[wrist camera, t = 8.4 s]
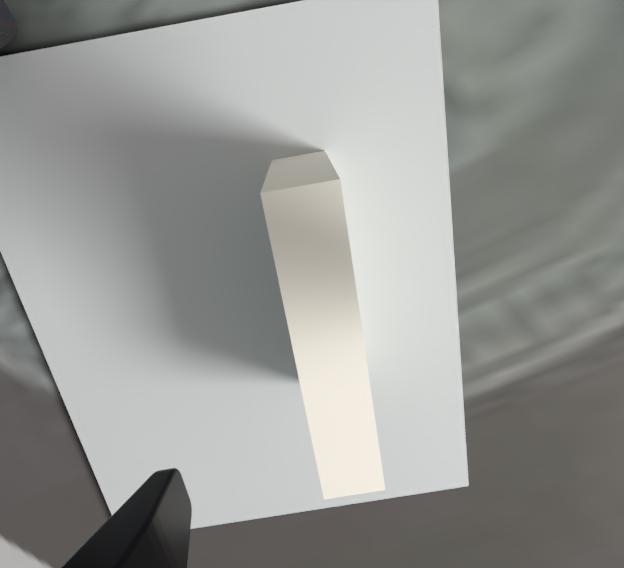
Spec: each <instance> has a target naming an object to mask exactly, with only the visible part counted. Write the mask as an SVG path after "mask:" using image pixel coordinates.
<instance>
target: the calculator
mask: <svg viewBox="0 0 624 568" xmlns="http://www.w3.org/2000/svg"><path fill="white" fill-rule="evenodd" d="M16 33H17V25H16V22H15V20H14V18H13V16H12V14H11V13H10V11H9V9H8V8H7V6H6V5H5V3H4V1H3V0H0V48H2V47H4V46H5V45H7V44H8V43H9V42H11V41H12V40H13V39H14V38H15V36H16Z"/></svg>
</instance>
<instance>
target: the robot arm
mask: <svg viewBox="0 0 624 568" xmlns="http://www.w3.org/2000/svg"><path fill="white" fill-rule="evenodd" d="M191 517H192V507H191V501H190V498H189V495H188V492H187V489H186V487H185V484H184V481H183V478H182V475H181V473H180V471H179V470H178V469H176V468H171V469H165V470H159V471H156V472H154V473H153V474H152V475H151V476H150V477H149V478H148V479H147V480H146V481H145V482H144V483H143V484H142V485H141V486H140V487H139V488H138V489H137V490H136V492H135V493H134V494H133V495H132V496H131V497H130V498H129V499H128V500H127V501H126V502H125V503H124V504H123V505H122V506H121V507H120V508H119V509H118V510H117V511H116V512H115V513H114V514H113V515H112V516H111V517H110V518H109V519H108V520H107V521H106V522H105V524H104V525H103V526H102V527H101V528H100V529H99V530H98V531H97V532H96V533H95V534H94V535H93V536H92V537H91V538H90V539H89V540H88V541H87V542H86V543H85V544H84V545H83V546H82V547H81V548H80V549H79V550H78V551H77V552H76V553H75V554H74V556H73V557H72V558H71V559H70V560H69V561H68V562H67V563H66V564H65V565H64V566H63V567H62V568H187V559H188V548H189V538H190V527H191Z"/></svg>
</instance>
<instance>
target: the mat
mask: <svg viewBox="0 0 624 568" xmlns="http://www.w3.org/2000/svg"><path fill="white" fill-rule="evenodd" d="M319 151H325V152H326V154H327V156H328V158H329V159H330V161H331V163H332V165H333V167H334V169H335V170H336V172H337V174H338V176H339V178H340V181H341V188H342V195H343V201H344V208H345V215H346V222H347V229H348V236H349V243H350V249H351V256H352V263H353V270H354V277H355V284H356V291H357V298H358V304H359V311H360V318H361V325H362V332H363V339H364V346H365V352H366V359H367V366H368V373H369V380H370V387H371V394H372V400H373V407H374V414H375V421H376V428H377V435H378V442H379V448H380V455H381V462H382V469H383V476H384V483H385V490H383V491H376V492H370V493H363V494H357V495H350V496H344V497H338V498H331V499H325V500H324V497H323V493H322V488H321V483H320V478H319V473H318V469H317V464H316V459H315V454H314V449H313V445H312V440H311V435H310V430H309V425H308V420H307V416H306V411H305V406H304V401H303V396H302V392H301V387H300V382H299V377H298V372H297V368H296V363H295V358H294V353H293V348H292V344H291V339H290V334H289V329H288V324H287V319H286V315H285V310H284V305H283V300H282V295H281V291H280V286H279V281H278V276H277V271H276V267H275V262H274V257H273V252H272V247H271V243H270V238H269V233H268V228H267V223H266V218H265V214H264V209H263V204H262V199H261V194H260V192H261V190H262V187H263V184H264V181H265V178H266V176H267V173H268V170H269V167H270V164H271V161H272V160H274V159H280V158H285V157H291V156H297V155H302V154H308V153H313V152H319ZM0 252H1V254H2V256H3V259H4V261H5V264H6V266H7V268H8V271H9V273H10V275H11V278H12V280H13V282H14V285H15V287H16V290H17V292H18V294H19V297H20V299H21V301H22V304H23V306H24V309H25V311H26V313H27V316H28V318H29V320H30V323H31V325H32V327H33V330H34V332H35V335H36V337H37V339H38V342H39V344H40V346H41V349H42V351H43V353H44V356H45V358H46V361H47V363H48V365H49V368H50V370H51V372H52V375H53V377H54V380H55V382H56V384H57V387H58V389H59V391H60V394H61V396H62V398H63V401H64V403H65V406H66V408H67V410H68V413H69V415H70V417H71V420H72V422H73V424H74V427H75V429H76V432H77V434H78V436H79V439H80V441H81V443H82V446H83V448H84V451H85V453H86V455H87V458H88V460H89V462H90V465H91V467H92V469H93V472H94V474H95V477H96V479H97V481H98V484H99V486H100V488H101V491H102V493H103V495H104V498H105V500H106V503H107V505H108V507H109V510H110V512H111V514H112V515H113V514H114V513H115V512H116V511H117V510H118V509H119V508H120V507H121V506H122V505H123V504H124V503H125V502H126V501H127V500H128V499H129V498H130V497H131V496H132V495H133V494H134V493H135V492H136V490H137V489H138V488H139V487H140V486H141V485H142V484H143V483H144V482H145V481H146V480H147V479H148V478H149V477H150V476H151V475H152V474H153V473H154V472H156V471H159V470H165V469H171V468H176V469H178V470H179V471H180V473H181V475H182V478H183V481H184V484H185V487H186V489H187V492H188V495H189V498H190V501H191V507H192V517H191V527H190V529H193V528H199V527H206V526H212V525H219V524H225V523H232V522H238V521H245V520H251V519H258V518H264V517H271V516H277V515H284V514H290V513H297V512H303V511H310V510H316V509H323V508H329V507H336V506H342V505H349V504H355V503H361V502H368V501H374V500H381V499H387V498H394V497H400V496H407V495H413V494H420V493H426V492H433V491H439V490H446V489H452V488H459V487H465V486H469V483H468V468H467V452H466V436H465V420H464V404H463V388H462V372H461V357H460V341H459V325H458V309H457V293H456V277H455V261H454V246H453V230H452V214H451V198H450V182H449V166H448V151H447V135H446V119H445V103H444V87H443V71H442V55H441V40H440V24H439V8H438V0H302V1H297V2H292V3H286V4H281V5H275V6H270V7H265V8H259V9H254V10H249V11H243V12H238V13H232V14H227V15H222V16H216V17H211V18H206V19H200V20H195V21H189V22H184V23H179V24H173V25H168V26H163V27H157V28H152V29H146V30H141V31H136V32H130V33H125V34H119V35H114V36H109V37H103V38H98V39H93V40H87V41H82V42H76V43H71V44H66V45H60V46H55V47H50V48H44V49H39V50H33V51H28V52H23V53H17V54H12V55H7V56H1V57H0Z"/></svg>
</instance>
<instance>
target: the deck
mask: <svg viewBox="0 0 624 568" xmlns="http://www.w3.org/2000/svg"><path fill="white" fill-rule="evenodd" d="M260 194H261V199H262V204H263V209H264V214H265V218H266V223H267V228H268V233H269V238H270V243H271V247H272V252H273V257H274V262H275V267H276V271H277V276H278V281H279V286H280V291H281V295H282V300H283V305H284V310H285V315H286V319H287V324H288V329H289V334H290V339H291V344H292V348H293V353H294V358H295V363H296V368H297V372H298V377H299V382H300V387H301V392H302V396H303V401H304V406H305V411H306V416H307V420H308V425H309V430H310V435H311V440H312V445H313V449H314V454H315V459H316V464H317V469H318V473H319V478H320V483H321V488H322V493H323V497H324V500H325V499H331V498H338V497H344V496H350V495H357V494H363V493H370V492H376V491H383V490H385V483H384V476H383V469H382V462H381V455H380V448H379V442H378V435H377V428H376V421H375V414H374V407H373V400H372V394H371V387H370V380H369V373H368V366H367V359H366V352H365V346H364V339H363V332H362V325H361V318H360V311H359V304H358V298H357V291H356V284H355V277H354V270H353V263H352V256H351V249H350V243H349V236H348V229H347V222H346V215H345V208H344V201H343V195H342V188H341V181H340V178H339V176H338V174H337V172H336V170H335V169H334V167H333V165H332V163H331V161H330V159H329V158H328V156H327V154H326V152H325V151H319V152H313V153H308V154H302V155H297V156H291V157H285V158H280V159H274V160H272V161H271V164H270V167H269V170H268V173H267V176H266V178H265V181H264V184H263V187H262V190H261V192H260Z"/></svg>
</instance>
